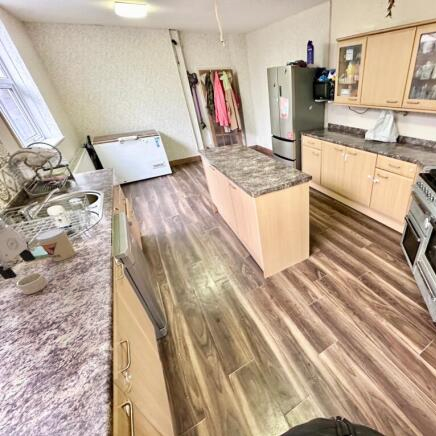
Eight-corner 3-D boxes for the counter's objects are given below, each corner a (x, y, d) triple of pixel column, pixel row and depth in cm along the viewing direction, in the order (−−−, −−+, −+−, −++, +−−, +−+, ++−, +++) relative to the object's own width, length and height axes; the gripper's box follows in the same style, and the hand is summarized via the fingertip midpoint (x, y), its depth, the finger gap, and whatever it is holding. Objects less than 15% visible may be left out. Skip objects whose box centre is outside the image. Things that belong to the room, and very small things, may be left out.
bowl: (18, 297, 84) (10, 288, 82) (31, 283, 90) (24, 275, 88) (41, 292, 86) (34, 283, 83) (52, 279, 91) (46, 270, 89)
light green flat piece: (27, 260, 103) (23, 255, 102) (41, 247, 112) (38, 242, 110) (58, 254, 106) (54, 249, 104) (70, 242, 114) (66, 237, 113)
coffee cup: (45, 262, 101) (28, 239, 96) (65, 249, 110) (51, 227, 104) (63, 263, 100) (48, 240, 94) (83, 249, 108) (69, 228, 102)
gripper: (-21, 240, 68) (16, 282, 76) (21, 214, 83) (48, 252, 91) (-54, 245, 66) (-12, 288, 75) (-5, 217, 81) (25, 256, 89)
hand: (21, 268), depth 83 cm, fingers open, 9 cm apart
